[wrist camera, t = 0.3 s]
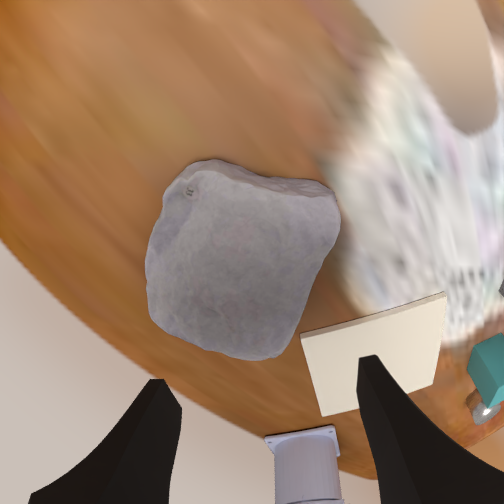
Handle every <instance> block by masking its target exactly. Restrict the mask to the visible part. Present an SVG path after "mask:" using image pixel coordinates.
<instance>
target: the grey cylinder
mask: <svg viewBox="0 0 504 504" xmlns="http://www.w3.org/2000/svg"><path fill="white" fill-rule="evenodd" d="M466 404H467V406H468V408H469V410H470V412H471V415H472V417H473V419H474V421H475V424H476V425H480V424H483V423H485V422H486V421H488V420H490V419H491V418H492V417H493V416H495V415H496V414H497V413H498V411H499V410H500V408H501V406H500V404H499V403H498V404H496V405H494V406H492V407H490V408H489V409H487V407H486V405H485V403H484V401H483V399H482V397H481V395H480V393H479V391H478V389H475V390H474V391H473V392H472V393H471V394H470V395H469V396H468V397H467V399H466Z"/></svg>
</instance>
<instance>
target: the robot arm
mask: <svg viewBox="0 0 504 504" xmlns="http://www.w3.org/2000/svg"><path fill="white" fill-rule="evenodd" d="M356 393H357V399H358V404H359V409H360V414H361V418H362V421H363V425H364V428H365V431H366V434H367V438H368V441H369V445H370V448H371V451H372V455H373V458H374V462H375V466H376V470H377V477H378V483H379V490H380V498H381V504H504V472H502V471H500V470H498V469H496V468H495V467H493V466H491V465H489V464H487V463H486V462H484V461H482V460H481V459H479V458H477V457H476V456H474V455H473V454H471V453H470V452H469V451H467V450H466V449H464V448H463V447H462V446H460V445H459V444H457V443H456V442H455V441H454V440H452V439H451V438H450V437H449V436H448V435H446V434H445V433H444V432H443V431H442V430H441V429H439V428H438V427H437V426H436V425H435V424H434V423H433V422H432V421H431V420H430V419H429V418H428V417H427V416H426V415H425V414H424V413H423V412H422V411H421V410H420V409H419V408H418V407H417V406H416V404H415V403H414V402H413V401H412V400H411V399H410V398H409V396H408V395H407V394H406V393H405V392H404V391H403V389H402V388H401V387H400V386H399V384H398V383H397V382H396V381H395V379H394V378H393V377H392V375H391V374H390V373H389V371H388V370H387V369H386V367H385V366H384V364H383V363H382V362H381V360H380V359H379V357H378V356H377V355H375V354H374V355H369V356H365V357H360V358H359V361H358V374H357V386H356ZM181 419H182V407H181V406H180V404H179V403H178V401H177V400H176V398H175V397H174V395H173V393H172V392H171V390H170V389H169V387H168V385H167V384H166V382H165V380H164V379H150V380H149V381H148V382H147V384H146V385H145V386H144V388H143V389H142V390H141V392H140V393H139V395H138V396H137V397H136V399H135V400H134V401H133V403H132V404H131V406H130V407H129V408H128V410H127V411H126V412H125V414H124V415H123V416H122V417H121V419H120V420H119V421H118V423H117V424H116V425H115V426H114V428H113V429H112V430H111V431H110V432H109V433H108V435H107V436H106V437H105V438H104V439H103V440H102V442H101V443H100V444H99V445H98V446H97V447H96V448H95V449H94V450H93V451H92V452H91V453H90V454H89V455H88V456H87V457H86V458H85V459H83V460H82V461H81V462H80V463H79V464H77V465H76V466H75V467H74V468H72V469H71V470H70V471H69V472H68V473H66V474H64V475H63V476H62V477H60V478H59V479H57V480H56V481H54V482H52V483H51V484H49V485H47V486H45V487H43V488H42V489H40V490H38V491H36V492H34V493H32V494H31V496H30V499H29V502H28V504H169V488H170V480H171V474H172V469H173V465H174V460H175V455H176V450H177V446H178V440H179V436H180V431H181ZM264 441H265V442H266V444H267V445H268V447H269V448H270V450H271V451H272V452H273V454H274V456H275V504H344V499H342V496H341V487H340V480H339V472H338V465H337V458H336V457H338V456H340V451H339V446H338V441H337V436H336V431H335V427H334V426H333V425H330V426H325V427H320V428H315V429H310V430H305V431H299V432H293V433H287V434H281V435H274V436H267V437H265V438H264Z"/></svg>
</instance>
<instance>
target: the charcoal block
mask: <svg viewBox="0 0 504 504" xmlns="http://www.w3.org/2000/svg"><path fill="white" fill-rule="evenodd" d="M499 292H500V293H501V294H502V295H503V296H504V280H503V282H502V285H501V287H500V289H499Z"/></svg>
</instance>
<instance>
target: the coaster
mask: <svg viewBox="0 0 504 504" xmlns="http://www.w3.org/2000/svg"><path fill="white" fill-rule="evenodd" d="M446 302H447V295H446V294H445V293H444V292H442V293H439V294H436V295H433V296H430V297H427V298H424V299H421V300H418V301H415V302H412V303H409V304H406V305H403V306H400V307H397V308H393V309H390V310H387V311H383V312H380V313H377V314H373V315H370V316H366V317H363V318H359V319H356V320H352V321H348V322H345V323H341V324H337V325H333V326H329V327H325V328H321V329H317V330H313V331H309V332H305V333H301V334H300V339H301V343H302V346H303V350H304V353H305V357H306V360H307V364H308V367H309V371H310V374H311V378H312V381H313V385H314V389H315V392H316V396H317V399H318V403H319V407H320V410H321V414H322V417H324V416H329V415H333V414H337V413H342V412H346V411H350V410H354V409H357V408H359V404H358V399H357V393H356V386H357V374H358V361H359V358H360V357H365V356H369V355H374V354H375V355H377V356H378V357H379V359H380V360H381V362H382V363H383V364H384V366H385V367H386V369H387V370H388V371H389V373H390V374H391V375H392V377H393V378H394V379H395V381H396V382H397V383H398V384H399V386H400V387H401V388H402V389H403V391H404V392H405V393H406V394H407V393H410V392H413V391H415V390H418V389H421V388H424V387H426V386H429V385H432V383H433V379H434V375H435V370H436V365H437V360H438V355H439V350H440V344H441V338H442V332H443V326H444V318H445V311H446Z"/></svg>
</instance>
